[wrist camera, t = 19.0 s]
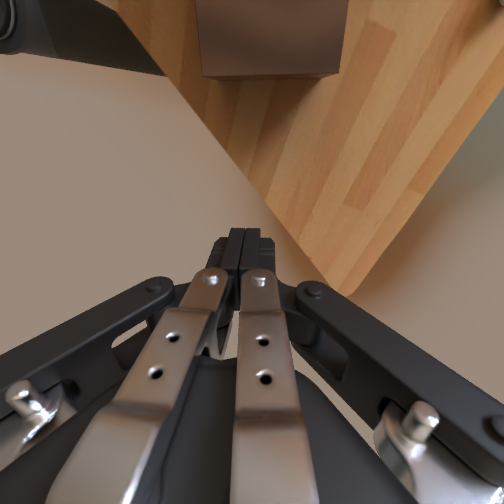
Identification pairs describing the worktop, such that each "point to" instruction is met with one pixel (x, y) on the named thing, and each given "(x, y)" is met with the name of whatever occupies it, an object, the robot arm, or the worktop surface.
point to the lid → (270, 36)
